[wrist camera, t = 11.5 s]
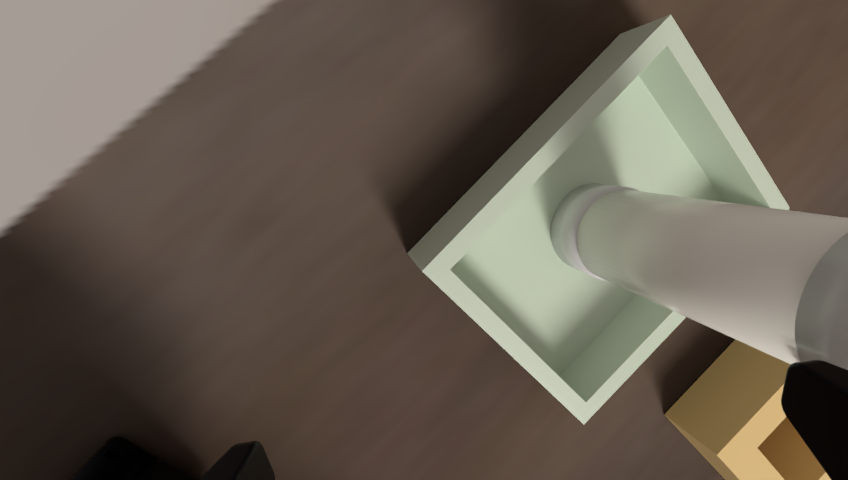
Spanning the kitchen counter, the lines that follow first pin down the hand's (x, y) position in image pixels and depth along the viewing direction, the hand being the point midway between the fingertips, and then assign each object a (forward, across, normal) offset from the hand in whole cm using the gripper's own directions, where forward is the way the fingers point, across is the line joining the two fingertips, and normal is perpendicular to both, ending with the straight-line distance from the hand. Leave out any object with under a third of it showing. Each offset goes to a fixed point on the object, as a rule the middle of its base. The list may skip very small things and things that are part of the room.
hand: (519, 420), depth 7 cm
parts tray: (+14, -6, +3) cm, 16 cm away
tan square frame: (+14, -16, +17) cm, 27 cm away
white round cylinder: (+14, -6, +3) cm, 15 cm away
